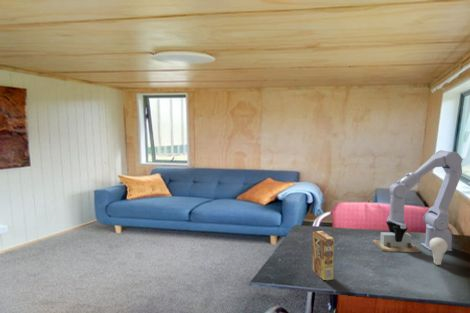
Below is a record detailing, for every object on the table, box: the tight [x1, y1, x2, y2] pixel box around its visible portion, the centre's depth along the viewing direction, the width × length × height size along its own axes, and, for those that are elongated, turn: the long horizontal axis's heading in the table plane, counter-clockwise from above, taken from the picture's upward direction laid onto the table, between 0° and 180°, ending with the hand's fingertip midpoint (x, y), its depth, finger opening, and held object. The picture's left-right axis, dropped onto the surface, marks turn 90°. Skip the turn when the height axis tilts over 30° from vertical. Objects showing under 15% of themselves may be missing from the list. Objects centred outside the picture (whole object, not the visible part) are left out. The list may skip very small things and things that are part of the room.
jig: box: [372, 239, 421, 253], centre depth 143 cm, size 16×12×3 cm
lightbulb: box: [429, 237, 448, 266], centre depth 123 cm, size 6×6×11 cm
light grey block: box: [379, 231, 413, 246], centre depth 143 cm, size 12×4×5 cm, turn 86°
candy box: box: [312, 230, 335, 281], centre depth 115 cm, size 9×4×15 cm, turn 13°
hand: (395, 239), depth 143 cm, fingers open, 5 cm apart
